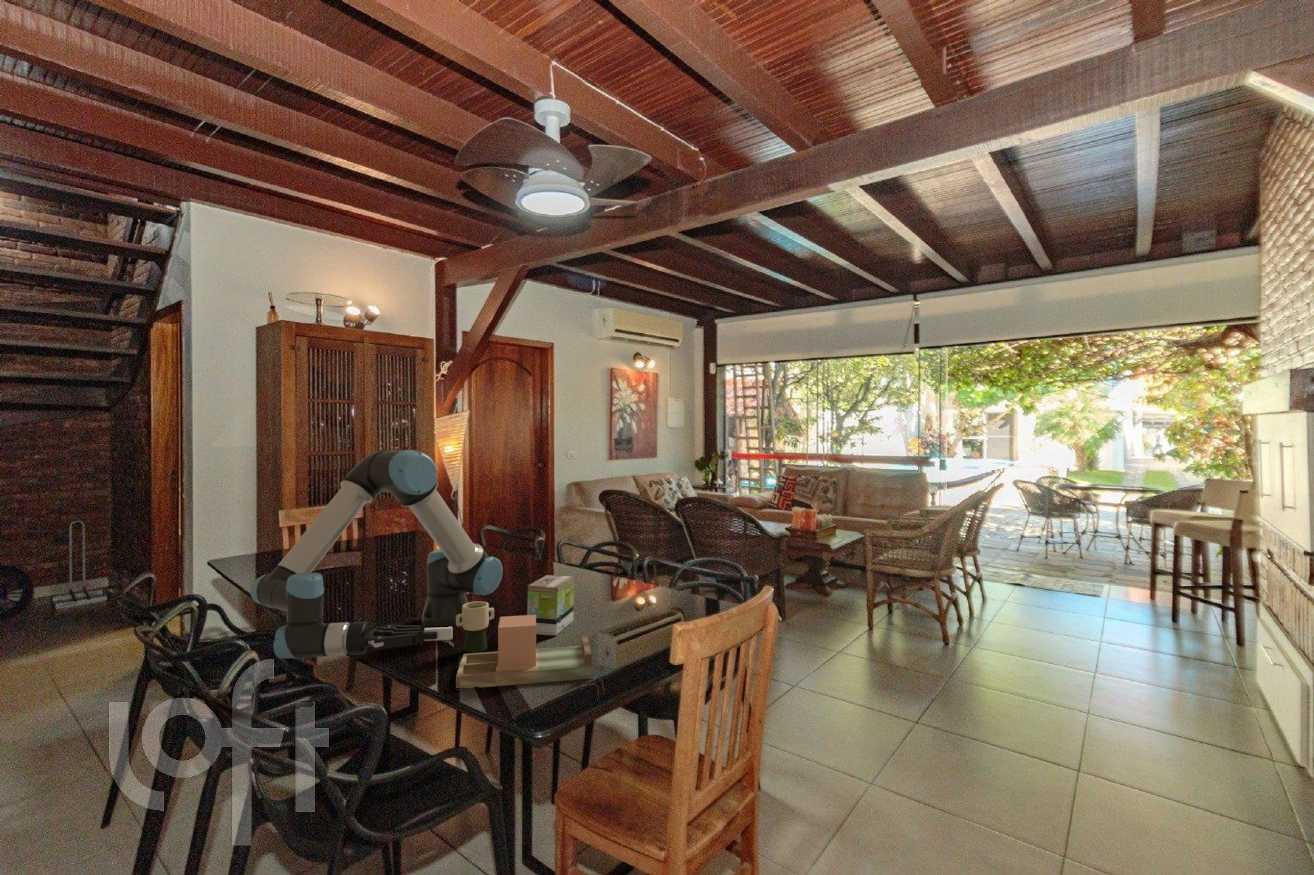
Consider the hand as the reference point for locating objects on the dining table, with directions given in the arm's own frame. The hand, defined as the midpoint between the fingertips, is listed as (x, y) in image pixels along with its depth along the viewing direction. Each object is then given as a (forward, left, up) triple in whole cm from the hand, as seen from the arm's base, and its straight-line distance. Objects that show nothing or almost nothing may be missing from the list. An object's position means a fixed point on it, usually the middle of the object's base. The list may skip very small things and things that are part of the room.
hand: (452, 632), depth 150 cm
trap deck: (0, +18, -11) cm, 21 cm away
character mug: (-18, +4, -11) cm, 21 cm away
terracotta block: (0, +16, -8) cm, 18 cm away
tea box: (-35, +25, -11) cm, 44 cm away
